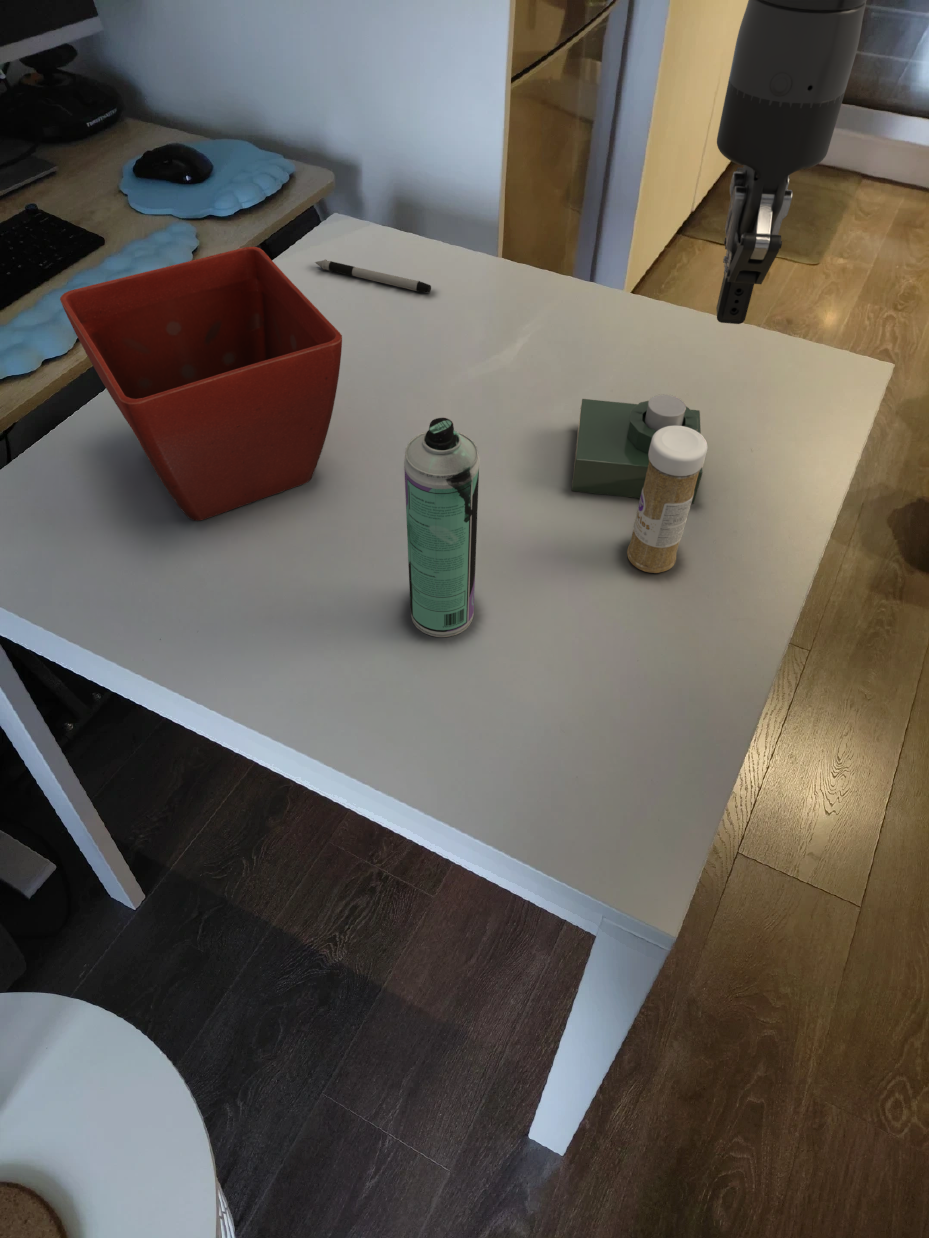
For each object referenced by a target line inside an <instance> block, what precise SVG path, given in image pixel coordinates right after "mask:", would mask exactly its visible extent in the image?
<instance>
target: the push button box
mask: <svg viewBox="0 0 929 1238" xmlns="http://www.w3.org/2000/svg"><path fill="white" fill-rule="evenodd" d="M648 402H649V400H645V401H641V402H638V403H629V402H619V401H610V400H601V399H588V398H582V399H581V402H580V411H579V417H578V424H577V425H578V426H577V434H576V444H575V453H574V462H573V472H572V480H571V491H572V492H579V493H589V494H596V495H597V494H598V495H608V496H615V497H623V498H635V499H640V497H641V493H642V489H643V487H644V483H645V478H646V473H647V469H648V465H649V456H648V453H649V448H650V444H651V440H652V437H653V435H654V434H655V433H656V432H657V431H656V430H653V429H651V428H649V427H648V426H647V425H646V423H645V416H646V411H647V406H648ZM682 426H684V427H688V428H691V429H693V430H695V431H697V432H699V433H700V434H701V435H702V430H701V411H700V410H699V409H691V408H690V407H688V406H686V411H685V415H684V419H683V423H682ZM703 473H704V472H703V467H702V468H701V469H700V472H699V474H698V478H697V481H696V485H695V489H694V495H693V499H692V503H691V505H694V504H695V501H696V499H697V498H696V497H697V494H698V490H699V487H700V483H701V480H702V476H703Z"/></svg>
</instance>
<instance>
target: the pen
mask: <svg viewBox="0 0 929 1238" xmlns="http://www.w3.org/2000/svg"><path fill="white" fill-rule="evenodd" d="M314 263H315V264H316V265H317V266H319V267H320V268H321V269H322V270H324V271H329V272H333V273H338V274H342V275H346V276H350V277H355V278H356V277H357V278H361V279H365V280H369V281H373V282H378V283H381V284H386V285H390V286H394V287H398V288H402V289H406V290H411V291H415V292H419V293H427V294H428V293H429V294H430V293H431V291H432V285H431V284H429V283H426V282H424V281H420V280H416V279H411V278H408V277H407V278H406V277H402V276H397V275H393V274H388V273H384V272H381V271H380V272H379V271H375V270H370V269H366V268H363V267H362V268H361V267H357V266H353V265H349V264H345V263H340V262H336V261H332V260H328V259H324V260H319V261H315V262H314Z"/></svg>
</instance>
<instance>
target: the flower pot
mask: <svg viewBox="0 0 929 1238" xmlns="http://www.w3.org/2000/svg"><path fill="white" fill-rule="evenodd" d="M59 301H60V304H61V305H62V308H63V310H64V312H65V314H66V317H67V319H68V321H69V323H70V325H71V327H72V329H73V331H74V333H75V335H76V337H77V339H78V341H79V343H80V345H81V346H82V348H83V350H84V352H85V354H86V355H87V357H88V359H89V362H90V363H91V365H92V366H93V369H94V370H95V372H96V373H97V375H98V377H99V379H100V380H101V382H102V384H103V385H104V387H105V389H106V390H107V392H108V394H109V395H110V397H111V399H112V400H113V402H114V404H115V405H116V407H117V409H118V410H119V412H120V413H121V415H122V416H123V418H124V420H125V421H126V422H127V424H128V426H129V428H130V429H131V430H132V432H133V434H134V435H135V438H136V439H137V441H138V443H139V445H140V446H141V448H142V449H143V451H144V454H145V455H146V457H147V459H148V461H149V462H150V465H151V467H153V469H154V471H155V473H156V474H157V476H158V478H159V479H160V482H162V484H163V486H164V487H165V489H166V490H167V492H168V493H169V495H170V496H171V498H172V500H174V502H175V503H176V505H177V506H178V508H179V509H180V510H181V511H182V512H183V513H184V514H185V516H186V517H187V518H189V520H192V521H194V522H196V521H197V522H198V521H199V522H200V521H202V520H203V521H204V520H206V519H209V518H212V517H215V516H217V515H220V514H223V513H226V512H230V511H232V510H234V509H237V508H241V507H243V506H246V505H248V504H251V503H254V502H256V501H260V500H262V499H265V498H269V497H271V496H274V495H277V494H279V493H283V492H285V491H288V490H291V489H293V488H296V487H298V486H302V485H304V484H307V483H309V482H310V481H311V480H312V478H313V476H314V473H315V471H316V470H317V469H316V468H317V466H318V463H319V460H320V458H321V455H322V452H323V448H324V445H325V442H326V439H327V435H328V432H329V428H330V424H331V420H332V417H333V416H332V415H333V410H334V407H335V402H336V395H337V391H338V389H337V388H338V385H339V384H338V383H339V376H340V369H341V360H342V348H343V335H342V333H341V332H340V331H339V330H338V329H337V328H336V327H335V325H334V324H333V323H331V322H330V321H329V320H328V319H327V317H326V316H324V315H323V313H322V312H321V311H320V310H319V309H318V308H317V306H315V305H314V303H312V301H311V300H309V298H308V297H307V296H306V295H305V294H304V293H303V292H302V290H300V289H299V288H298V287H297V285H295V284H294V283H293V282H292V281H291V279H289V277H288V276H287V275H286V274H285V273H284V272H283V270H281V268H280V267H279V266H278V265H277V264H276V263H275V262H274V261H273V260H272V259H271V257H269V255H268V254H267V253H266V252H265V251H264V250H263V249H262V248H260V247H257V246H244V247H240V248H237V249H232V250H229V251H225V252H220V253H216V254H212V255H208V256H205V257H200V258H196V259H192V260H189V261H184V262H181V263H180V262H179V263H177V264H172V265H168V266H165V267H160V268H155V269H152V270H148V271H144V272H139V273H135V274H132V275H127V276H124V277H119V278H115V279H111V280H108V281H102V282H98V283H94V284H91V285H87V286H83V287H79V288H74V289H71V290H68V291H66V292H64V293H63V294H62V295H61V296H60V298H59Z"/></svg>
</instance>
